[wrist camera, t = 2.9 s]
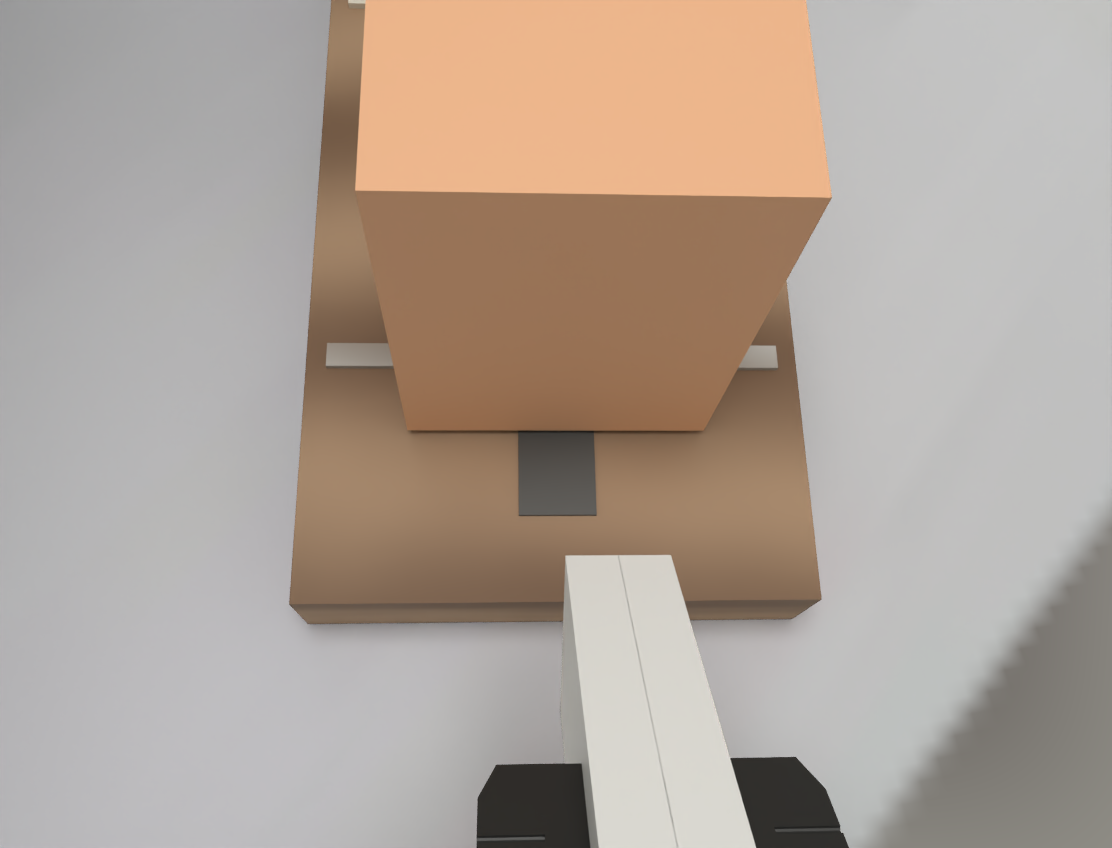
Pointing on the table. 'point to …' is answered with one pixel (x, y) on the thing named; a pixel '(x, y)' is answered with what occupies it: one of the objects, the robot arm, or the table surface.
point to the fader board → (520, 462)
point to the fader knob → (583, 202)
